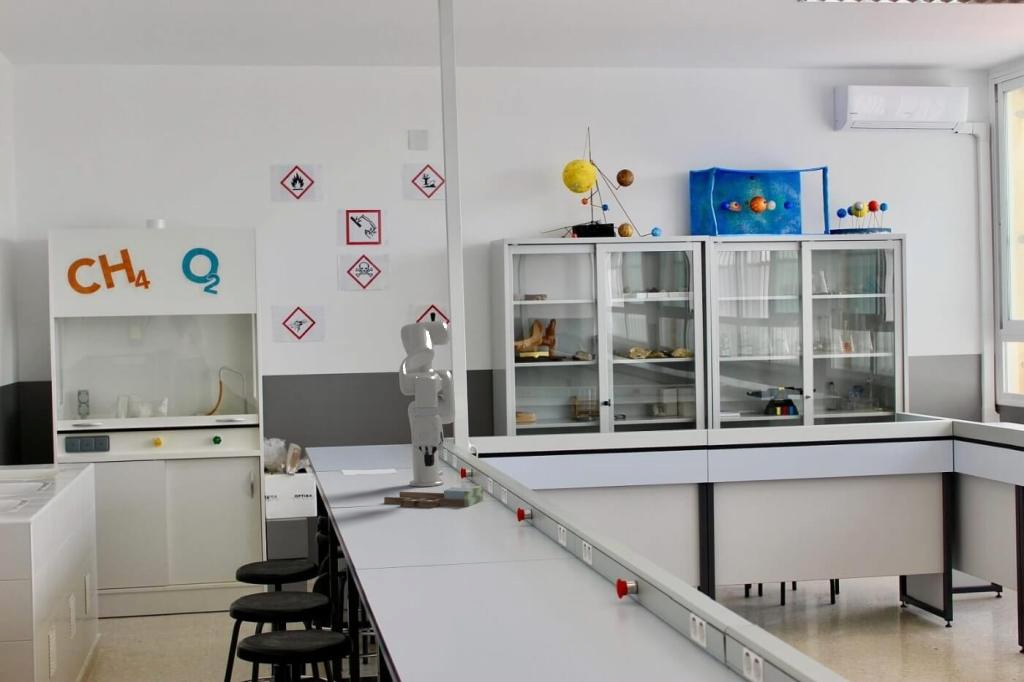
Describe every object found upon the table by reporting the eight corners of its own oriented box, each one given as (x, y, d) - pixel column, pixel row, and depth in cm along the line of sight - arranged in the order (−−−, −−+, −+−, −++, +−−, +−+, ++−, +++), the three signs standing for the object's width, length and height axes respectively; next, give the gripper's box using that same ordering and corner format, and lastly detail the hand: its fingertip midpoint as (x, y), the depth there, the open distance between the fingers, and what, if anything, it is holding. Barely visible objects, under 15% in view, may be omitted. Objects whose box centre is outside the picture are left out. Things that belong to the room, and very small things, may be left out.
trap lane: (401, 497, 384) (400, 483, 384) (483, 500, 371) (482, 485, 371) (377, 505, 370) (377, 490, 370) (462, 509, 357) (461, 493, 356)
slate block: (453, 502, 371) (452, 487, 371) (474, 503, 368) (473, 488, 367) (444, 505, 366) (443, 490, 365) (466, 506, 362) (465, 491, 362)
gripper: (402, 413, 371) (404, 466, 373) (441, 414, 365) (443, 468, 367) (413, 410, 378) (415, 462, 380) (451, 410, 372) (454, 464, 373)
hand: (429, 465), depth 373 cm, fingers closed
